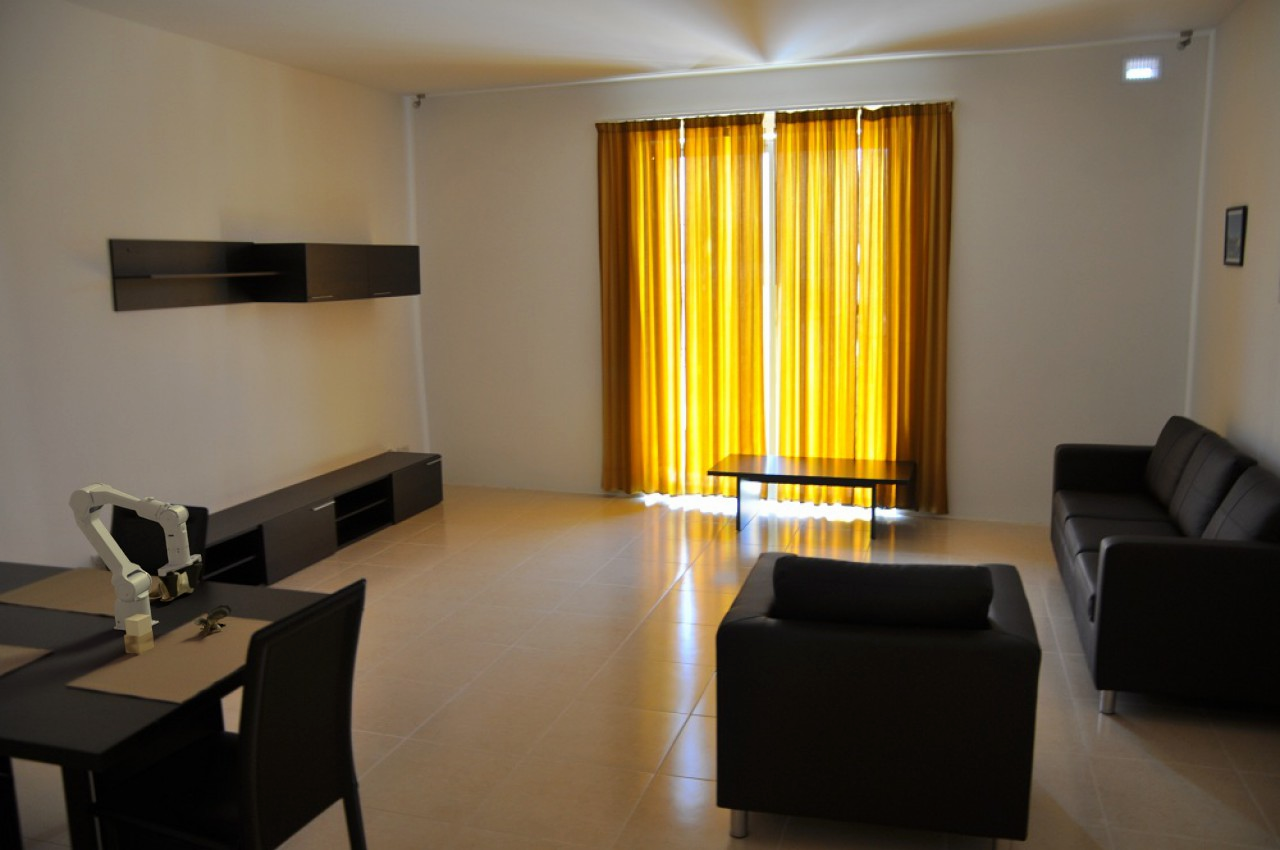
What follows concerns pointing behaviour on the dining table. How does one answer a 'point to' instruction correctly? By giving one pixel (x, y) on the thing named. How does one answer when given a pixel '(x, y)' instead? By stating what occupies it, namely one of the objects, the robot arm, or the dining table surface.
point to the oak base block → (139, 643)
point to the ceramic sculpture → (162, 590)
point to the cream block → (138, 625)
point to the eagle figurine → (214, 618)
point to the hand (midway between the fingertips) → (183, 592)
